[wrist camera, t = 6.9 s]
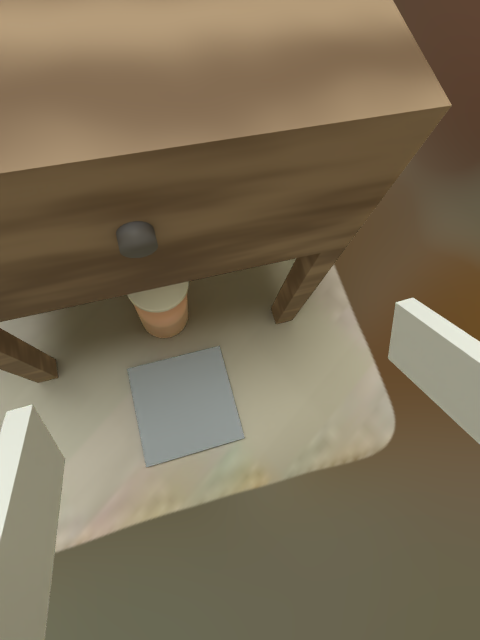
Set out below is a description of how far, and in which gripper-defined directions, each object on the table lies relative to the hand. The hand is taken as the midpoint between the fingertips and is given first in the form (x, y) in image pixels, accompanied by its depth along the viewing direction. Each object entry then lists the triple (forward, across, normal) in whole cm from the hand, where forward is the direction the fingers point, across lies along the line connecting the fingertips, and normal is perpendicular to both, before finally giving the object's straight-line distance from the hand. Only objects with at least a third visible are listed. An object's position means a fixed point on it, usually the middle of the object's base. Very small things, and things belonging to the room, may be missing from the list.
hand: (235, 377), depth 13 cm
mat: (+19, -2, -19) cm, 27 cm away
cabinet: (+30, -2, -9) cm, 32 cm away
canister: (+27, -2, -12) cm, 30 cm away
